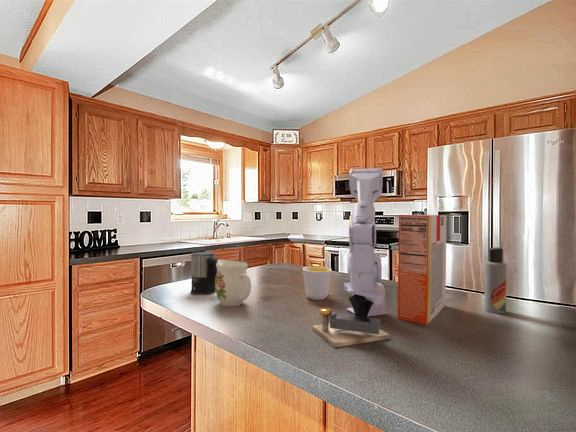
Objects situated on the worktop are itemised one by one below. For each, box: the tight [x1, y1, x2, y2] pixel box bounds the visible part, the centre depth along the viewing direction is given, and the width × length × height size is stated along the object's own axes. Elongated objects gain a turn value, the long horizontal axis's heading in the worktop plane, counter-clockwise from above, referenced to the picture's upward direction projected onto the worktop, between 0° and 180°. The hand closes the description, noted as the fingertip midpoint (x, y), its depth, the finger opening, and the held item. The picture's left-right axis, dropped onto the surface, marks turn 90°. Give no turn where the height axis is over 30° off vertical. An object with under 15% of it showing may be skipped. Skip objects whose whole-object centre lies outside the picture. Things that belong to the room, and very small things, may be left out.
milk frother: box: [190, 251, 220, 295], centre depth 126 cm, size 14×16×15 cm
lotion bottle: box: [483, 247, 508, 314], centre depth 102 cm, size 6×6×20 cm
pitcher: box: [215, 259, 252, 307], centre depth 107 cm, size 11×18×14 cm, turn 43°
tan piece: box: [312, 315, 390, 348], centre depth 82 cm, size 15×12×5 cm
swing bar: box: [319, 307, 381, 335], centre depth 79 cm, size 14×4×4 cm, turn 69°
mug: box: [302, 266, 333, 301], centre depth 117 cm, size 14×10×10 cm
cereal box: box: [397, 214, 448, 325], centre depth 101 cm, size 23×8×30 cm, turn 143°
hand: (361, 325), depth 81 cm, fingers closed
